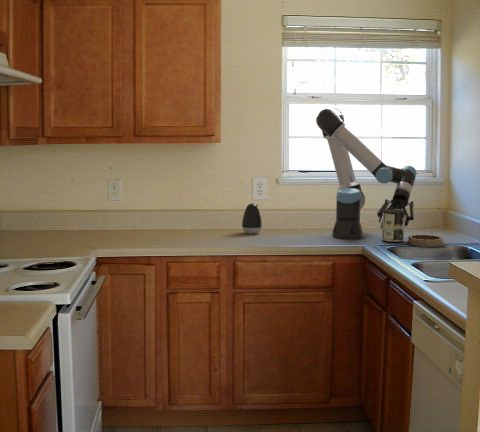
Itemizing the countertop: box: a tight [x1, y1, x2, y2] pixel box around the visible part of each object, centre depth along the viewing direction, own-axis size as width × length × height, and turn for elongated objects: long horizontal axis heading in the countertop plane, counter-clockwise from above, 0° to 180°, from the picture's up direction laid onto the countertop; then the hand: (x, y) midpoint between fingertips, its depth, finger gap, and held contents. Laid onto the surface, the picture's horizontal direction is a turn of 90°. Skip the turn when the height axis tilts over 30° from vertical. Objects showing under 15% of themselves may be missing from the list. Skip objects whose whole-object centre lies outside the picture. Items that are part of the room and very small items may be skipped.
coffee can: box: [381, 208, 406, 243], centre depth 317 cm, size 10×10×14 cm
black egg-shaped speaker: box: [241, 203, 263, 235], centre depth 337 cm, size 10×10×15 cm
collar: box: [406, 234, 445, 249], centre depth 310 cm, size 17×17×3 cm
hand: (391, 229), depth 315 cm, fingers closed on coffee can, 10 cm apart
